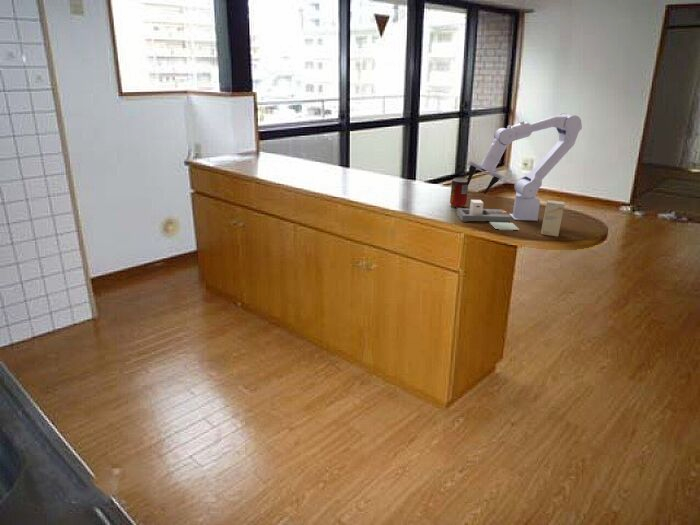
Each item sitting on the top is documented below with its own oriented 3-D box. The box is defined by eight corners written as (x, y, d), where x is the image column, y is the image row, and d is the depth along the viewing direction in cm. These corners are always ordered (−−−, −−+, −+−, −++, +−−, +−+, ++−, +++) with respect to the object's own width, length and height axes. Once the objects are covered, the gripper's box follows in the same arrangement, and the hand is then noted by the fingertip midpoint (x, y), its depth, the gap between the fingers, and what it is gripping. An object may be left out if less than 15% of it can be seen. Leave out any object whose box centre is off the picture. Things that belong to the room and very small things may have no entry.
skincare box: (540, 234, 189) (546, 202, 184) (541, 231, 192) (546, 199, 188) (558, 236, 187) (564, 204, 182) (558, 233, 190) (564, 201, 186)
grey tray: (502, 215, 212) (502, 208, 211) (509, 222, 202) (510, 215, 201) (456, 213, 212) (457, 206, 211) (461, 221, 202) (462, 214, 201)
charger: (478, 216, 209) (480, 199, 207) (481, 220, 205) (483, 203, 202) (468, 216, 209) (470, 199, 207) (471, 219, 204) (473, 202, 202)
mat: (512, 223, 201) (512, 222, 200) (519, 230, 192) (519, 229, 192) (489, 223, 200) (489, 221, 200) (495, 230, 192) (495, 228, 192)
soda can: (469, 206, 224) (472, 178, 219) (459, 209, 219) (462, 181, 215) (455, 203, 228) (458, 176, 224) (446, 206, 224) (448, 178, 219)
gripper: (474, 149, 197) (458, 181, 201) (509, 165, 194) (491, 198, 198) (476, 150, 203) (460, 181, 207) (509, 165, 200) (492, 197, 205)
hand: (475, 189), depth 203 cm, fingers open, 7 cm apart
